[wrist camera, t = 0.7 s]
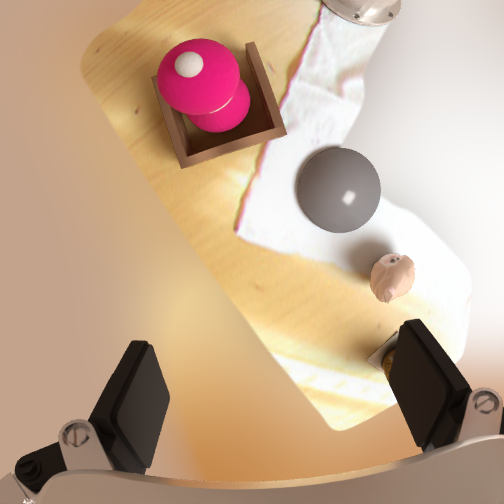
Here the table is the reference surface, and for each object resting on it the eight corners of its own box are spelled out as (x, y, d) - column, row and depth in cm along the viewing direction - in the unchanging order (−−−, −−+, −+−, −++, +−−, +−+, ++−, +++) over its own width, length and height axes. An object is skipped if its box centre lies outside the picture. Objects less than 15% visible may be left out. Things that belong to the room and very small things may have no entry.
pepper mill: (180, 111, 34) (109, 77, 15) (218, 69, 32) (185, -5, 13) (223, 146, 35) (190, 140, 17) (262, 103, 34) (272, 53, 15)
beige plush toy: (371, 244, 39) (395, 265, 32) (408, 250, 40) (436, 271, 32) (359, 287, 42) (378, 315, 34) (396, 291, 42) (419, 317, 34)
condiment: (390, 378, 48) (413, 424, 36) (365, 359, 46) (388, 409, 35) (420, 352, 46) (449, 395, 35) (397, 330, 44) (428, 376, 33)
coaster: (309, 137, 35) (310, 137, 34) (387, 162, 36) (389, 162, 35) (289, 221, 38) (289, 222, 38) (365, 239, 39) (367, 240, 39)
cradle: (254, 54, 31) (254, 41, 27) (282, 136, 35) (287, 134, 30) (163, 85, 33) (151, 77, 28) (190, 166, 36) (181, 168, 32)
